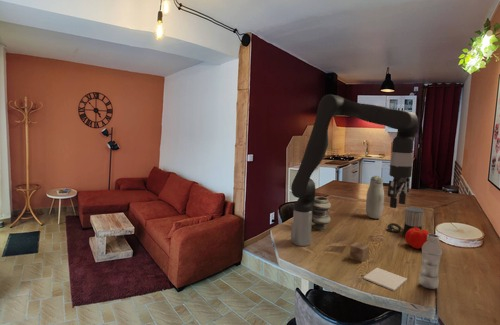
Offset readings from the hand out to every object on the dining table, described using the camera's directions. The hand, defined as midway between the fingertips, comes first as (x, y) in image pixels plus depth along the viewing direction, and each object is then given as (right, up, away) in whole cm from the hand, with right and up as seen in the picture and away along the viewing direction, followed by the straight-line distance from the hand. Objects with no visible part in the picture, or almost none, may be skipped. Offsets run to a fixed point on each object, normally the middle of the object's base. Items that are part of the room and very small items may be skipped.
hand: (397, 205), depth 115 cm
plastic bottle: (+10, -30, -3) cm, 32 cm away
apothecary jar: (-17, -22, +59) cm, 65 cm away
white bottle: (+24, -20, +80) cm, 86 cm away
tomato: (+27, -26, +34) cm, 50 cm away
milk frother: (+30, -24, +53) cm, 65 cm away
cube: (-8, -27, +20) cm, 34 cm away
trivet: (-4, -29, +1) cm, 29 cm away
